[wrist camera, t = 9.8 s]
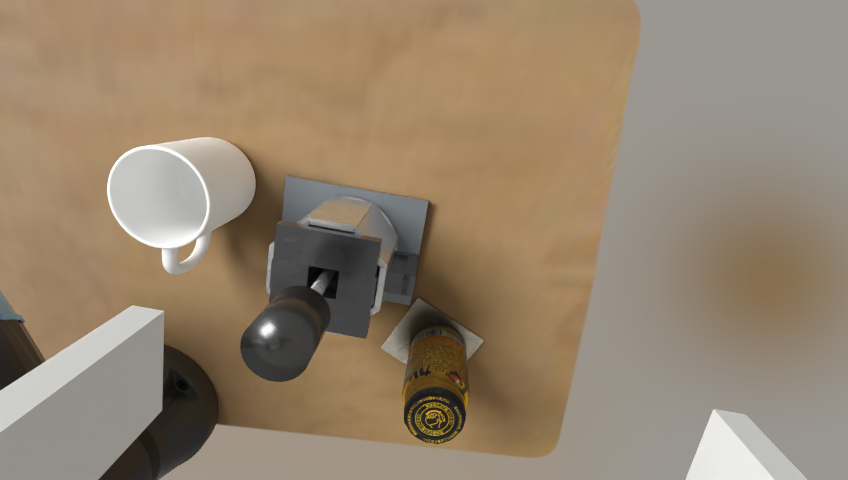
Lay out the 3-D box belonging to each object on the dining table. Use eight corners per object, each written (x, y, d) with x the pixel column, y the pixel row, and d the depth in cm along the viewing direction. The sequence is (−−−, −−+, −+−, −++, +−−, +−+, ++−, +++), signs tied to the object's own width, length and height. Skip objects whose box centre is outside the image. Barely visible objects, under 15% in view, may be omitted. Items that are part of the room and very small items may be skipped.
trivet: (278, 278, 51) (276, 281, 50) (288, 175, 47) (285, 176, 47) (410, 302, 51) (410, 305, 50) (428, 200, 48) (428, 201, 47)
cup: (261, 144, 47) (212, 155, 37) (253, 260, 50) (206, 298, 40) (176, 129, 47) (105, 137, 37) (174, 246, 50) (108, 281, 40)
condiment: (444, 387, 53) (443, 467, 42) (380, 347, 52) (361, 416, 41) (484, 339, 51) (494, 408, 40) (418, 296, 50) (409, 354, 39)
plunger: (302, 279, 47) (209, 393, 28) (310, 207, 45) (215, 281, 26) (376, 293, 47) (330, 415, 28) (387, 221, 45) (345, 304, 26)
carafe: (297, 279, 50) (257, 327, 39) (307, 187, 47) (266, 212, 36) (412, 299, 50) (402, 353, 39) (428, 209, 47) (422, 240, 36)
